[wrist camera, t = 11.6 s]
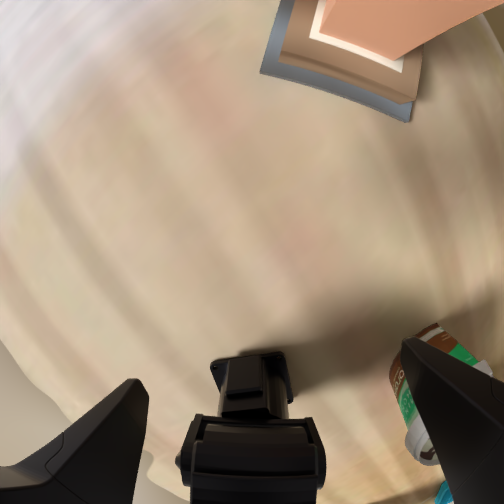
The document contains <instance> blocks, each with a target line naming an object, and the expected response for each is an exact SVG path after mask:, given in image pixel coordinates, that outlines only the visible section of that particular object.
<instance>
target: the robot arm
mask: <svg viewBox="0 0 504 504" xmlns="http://www.w3.org/2000/svg"><path fill="white" fill-rule="evenodd" d="M277 357H281V358H277ZM400 363H401V366H402V369H403V372H404V375H405V378H406V381H407V384H408V387H409V390H410V393H411V396H412V399H413V401H414V404H415V406H416V408H417V410H418V413H419V415H420V417H421V419H422V422H423V424H424V426H425V428H426V431H427V433H428V435H429V438H430V440H431V443H432V445H433V447H434V450H435V452H436V455H437V457H438V460H439V462H440V465H441V468H442V470H443V473H444V476H445V478H446V481H447V484H448V487H449V489H450V492H451V495H452V498H453V501H454V504H504V382H502V381H500V380H498V379H496V378H494V377H490V375H488V374H486V373H484V372H482V371H480V370H478V369H476V368H475V367H473V366H471V365H469V364H467V363H465V362H463V361H461V360H459V359H457V358H455V357H453V356H451V355H450V354H448V353H446V352H444V351H442V350H440V349H438V348H436V347H434V346H432V345H430V344H428V343H427V342H425V341H423V340H421V339H419V338H417V337H415V336H412V337H408V338H405V339H403V341H402V346H401V353H400ZM214 366H217V367H214ZM210 370H211V372H212V375H213V377H214V380H215V382H216V385H217V387H218V390H219V392H220V400H219V407H218V414H217V417H215V416H204V415H203V414H196V415H195V418H194V420H193V421H192V422H191V424H190V427H189V430H188V432H187V435H186V438H185V440H184V443H183V446H182V448H181V450H180V452H179V453H178V455H177V456H176V459H175V464H176V465H177V467H178V468H179V469H180V470H181V475H182V482H183V485H184V486H188V487H190V504H316V496H317V490H318V489H321V488H322V487H323V485H324V482H325V477H326V455H325V450H324V446H323V444H322V441H321V439H320V436H319V434H318V431H317V428H316V426H315V423H314V421H313V418H312V417H305V418H304V419H289V413H288V404H290V403H292V402H293V394H292V389H291V384H290V379H289V375H288V370H287V365H286V360H285V355H284V353H283V352H273V353H267V354H261V355H254V356H248V357H241V358H234V359H227V360H220V361H213V362H212V363H211V364H210ZM287 399H288V400H287ZM148 406H149V395H148V393H147V391H146V389H145V388H144V386H143V384H142V382H141V381H140V380H139V379H137V378H134V379H127V380H126V381H125V382H123V383H122V384H121V385H120V386H119V387H117V388H116V389H115V390H114V391H113V392H111V393H110V394H109V395H108V396H106V397H105V398H104V399H103V400H102V401H100V402H99V403H98V404H97V405H96V406H94V407H93V408H92V409H91V410H89V411H88V412H87V413H86V414H84V415H83V416H82V417H81V418H80V419H78V420H77V421H76V422H75V423H73V424H72V425H71V426H70V427H68V428H67V429H66V430H65V431H64V432H62V433H61V434H60V435H58V436H57V437H56V438H55V439H53V440H52V441H51V442H49V443H48V444H47V445H45V446H44V447H42V448H41V449H39V450H38V451H36V452H35V453H33V454H32V455H30V456H29V457H27V458H25V459H24V460H22V461H21V462H19V463H17V464H15V465H12V466H6V467H1V466H0V504H132V501H133V495H134V490H135V483H136V478H137V473H138V468H139V463H140V458H141V453H142V449H143V444H144V439H145V433H146V425H147V415H148Z"/></svg>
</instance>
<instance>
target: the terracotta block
mask: <svg viewBox="0 0 504 504" xmlns="http://www.w3.org/2000/svg"><path fill="white" fill-rule="evenodd" d="M503 3H504V0H326V4H325V8H324V13H323V17H322V21H321V25H320V29H319V33H321V34H324V35H327V36H331V37H334V38H337V39H340V40H342V41H345V42H348V43H351V44H354V45H356V46H359V47H361V48H364V49H366V50H369V51H371V52H374V53H376V54H379V55H381V56H383V57H385V58H388V59H390V60H392V61H394V60H396V59H397V58H399V57H401V56H402V55H404V54H406V53H407V52H409V51H411V50H413V49H414V48H416V47H418V46H419V45H421V44H423V43H425V42H427V41H428V40H430V39H432V38H434V37H436V36H437V35H439V34H441V33H443V32H445V31H447V30H449V29H450V28H452V27H454V26H456V25H458V24H460V23H462V22H464V21H466V20H468V19H470V18H472V17H474V16H476V15H478V14H481V13H483V12H485V11H487V10H489V9H491V8H493V7H496V6H498V5H500V4H503Z"/></svg>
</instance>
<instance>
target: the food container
mask: <svg viewBox="0 0 504 504" xmlns="http://www.w3.org/2000/svg"><path fill="white" fill-rule="evenodd" d="M415 337H417V338H419V339H421V340H423V341H425V342H427V343H428V344H430V345H432V346H434V347H436V348H438V349H440V350H442V351H444V352H446V353H448V354H450V355H451V356H453V357H455V358H457V359H459V360H461V361H463V362H465V363H467V364H469V365H471V366H473V367H475V368H476V369H478V370H480V371H482V372H484V373H486V374H488V375H490V377H494V376H493V375H492V373H493V372H492V370H491V368H490V367H489V365H488V364H487V362H486V360H485V359H484V360H482V361H480V362H478V361H477V360H476V359H475V358H474V357H473V356H472V355H471V354H470V353H469V352H468V351H467V350H466V349H465V348H464V347H463V346H461V345H460V344H459V343H458V342H457V341H456V340H455V339H454V338H453V337H452V336H451V335H449V334H448V333H447V332H446V331H445V330H444V329H443V328H442V327H441V326H439V325H438V324H437V323H436V324H433V325H431V326H429V327H427V328H425V329H424V330H422V331H421V332H419V333H418V334H416V335H415ZM400 353H401V350H400V352H399V353H398V354H397V356H396V357H395V359H394V361H393V363H392V366H391V368H390V373H389V379H390V383H391V385H392V388H393V390H394V393H395V396H396V398H397V401H398V404H399V406H400V409H401V412H402V415H403V418H404V420H405V423H406V426H407V429H408V432H407V435H406V438H405V446H406V448H407V449H408V451H409V452H410V453H411V454H412V456H413V457H414V458H415V459H416V460H417V461H420V463H421V464H423V465H427V466H433V465H438V464H440V462H439V460H438V457H437V455H436V452H435V450H434V447H433V445H432V443H431V440H430V438H429V435H428V433H427V431H426V428H425V426H424V424H423V422H422V419H421V417H420V415H419V413H418V410H417V408H416V406H415V404H414V401H413V399H412V396H411V393H410V390H409V387H408V384H407V381H406V378H405V375H404V372H403V369H402V366H401V363H400Z"/></svg>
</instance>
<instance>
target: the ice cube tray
mask: <svg viewBox="0 0 504 504" xmlns="http://www.w3.org/2000/svg"><path fill="white" fill-rule="evenodd" d="M452 501H453V498H452V495H451V492H450V489H449V487H448V484H447V481H445V482H443V483H442V485H441V487H440V490H439V492H438V494H437V497H436V499H435V504H448V503H450V502H452Z"/></svg>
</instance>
